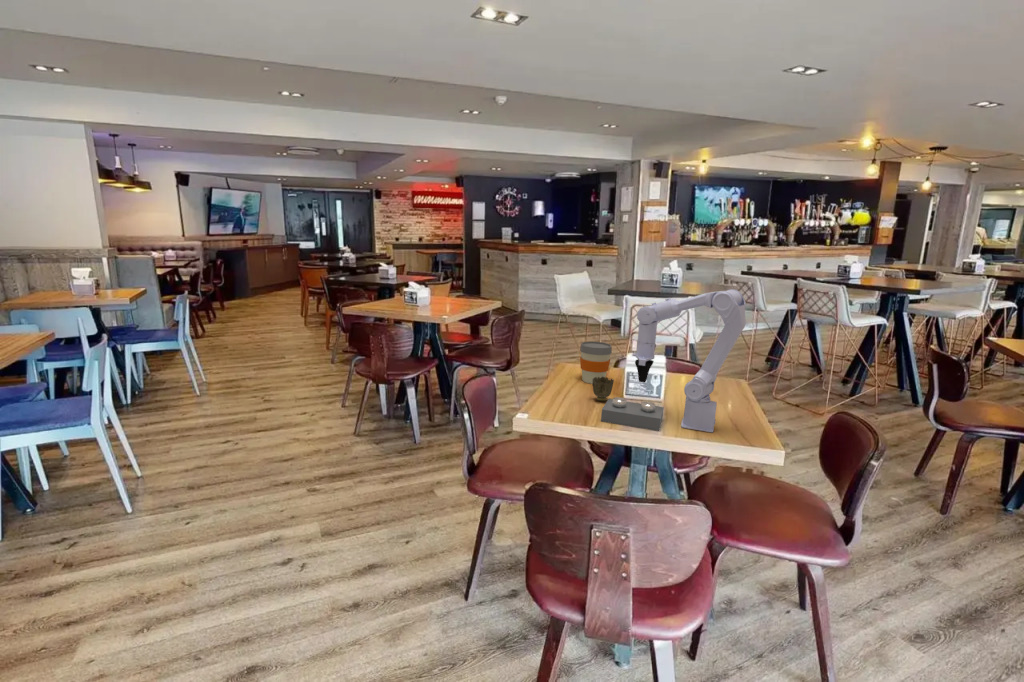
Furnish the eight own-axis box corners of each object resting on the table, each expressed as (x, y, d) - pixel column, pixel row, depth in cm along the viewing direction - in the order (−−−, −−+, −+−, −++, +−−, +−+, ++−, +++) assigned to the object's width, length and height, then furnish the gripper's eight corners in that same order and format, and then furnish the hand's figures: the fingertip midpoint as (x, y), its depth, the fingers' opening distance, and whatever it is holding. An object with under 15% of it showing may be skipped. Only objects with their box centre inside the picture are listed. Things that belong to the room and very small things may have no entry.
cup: (586, 399, 186) (588, 378, 184) (600, 396, 191) (601, 375, 189) (602, 405, 180) (604, 383, 179) (616, 401, 185) (618, 380, 184)
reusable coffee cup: (611, 385, 204) (615, 348, 201) (580, 384, 204) (582, 347, 201) (605, 377, 217) (608, 342, 214) (575, 375, 216) (578, 340, 213)
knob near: (654, 416, 167) (656, 402, 166) (653, 420, 163) (654, 406, 162) (640, 414, 168) (642, 400, 167) (639, 418, 164) (640, 404, 163)
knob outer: (626, 412, 170) (627, 398, 169) (624, 416, 166) (625, 402, 165) (613, 409, 171) (614, 396, 170) (610, 414, 167) (611, 400, 166)
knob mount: (662, 418, 170) (663, 407, 169) (659, 431, 159) (660, 418, 158) (607, 409, 176) (608, 398, 175) (600, 421, 165) (601, 409, 164)
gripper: (636, 336, 179) (633, 374, 182) (630, 344, 166) (627, 385, 169) (657, 339, 177) (653, 377, 180) (653, 347, 164) (649, 388, 166)
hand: (642, 381), depth 174 cm, fingers closed
